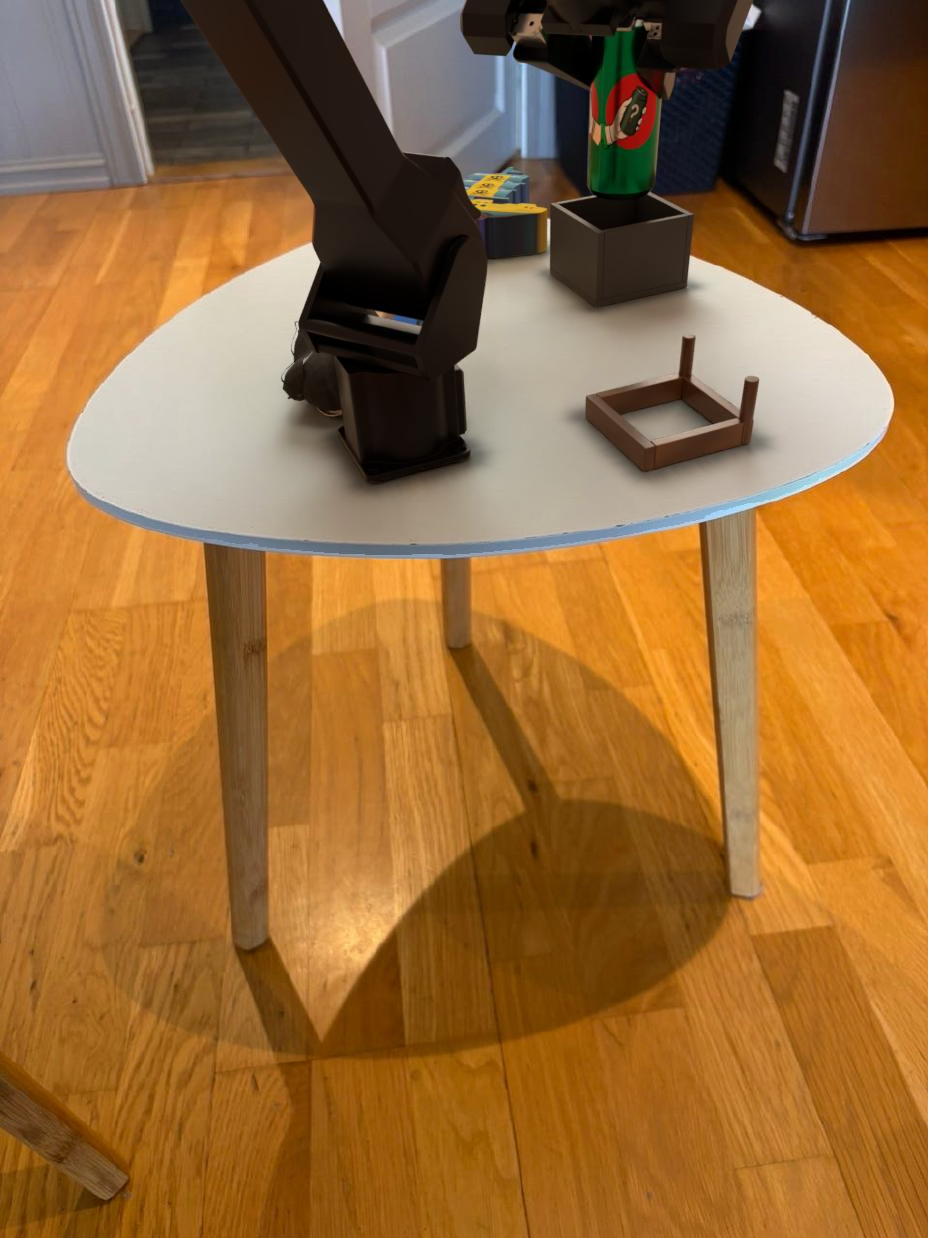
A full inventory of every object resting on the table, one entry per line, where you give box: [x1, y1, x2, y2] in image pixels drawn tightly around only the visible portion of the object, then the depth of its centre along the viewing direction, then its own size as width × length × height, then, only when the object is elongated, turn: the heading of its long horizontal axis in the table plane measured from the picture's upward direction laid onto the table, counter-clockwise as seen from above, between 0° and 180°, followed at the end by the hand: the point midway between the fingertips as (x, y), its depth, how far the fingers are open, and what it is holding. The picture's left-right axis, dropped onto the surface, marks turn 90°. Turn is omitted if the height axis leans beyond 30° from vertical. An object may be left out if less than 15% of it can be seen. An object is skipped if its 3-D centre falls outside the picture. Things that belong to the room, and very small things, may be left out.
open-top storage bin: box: [549, 191, 695, 308], centre depth 74 cm, size 8×8×6 cm
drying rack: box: [584, 333, 760, 472], centre depth 56 cm, size 7×7×4 cm
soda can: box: [586, 20, 663, 201], centre depth 67 cm, size 5×5×12 cm
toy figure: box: [280, 309, 394, 418], centre depth 63 cm, size 7×6×15 cm
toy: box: [462, 166, 548, 259], centre depth 85 cm, size 16×3×15 cm
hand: (634, 90), depth 67 cm, fingers closed on soda can, 5 cm apart
